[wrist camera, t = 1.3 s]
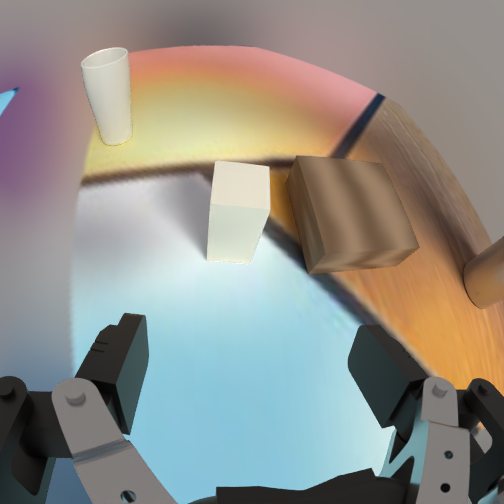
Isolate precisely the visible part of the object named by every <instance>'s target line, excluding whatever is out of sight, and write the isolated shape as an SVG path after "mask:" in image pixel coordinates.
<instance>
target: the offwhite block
mask: <svg viewBox="0 0 504 504" xmlns="http://www.w3.org/2000/svg"><path fill="white" fill-rule="evenodd" d="M269 212H270V177H269V167H268V166H261V165H253V164H244V163H235V162H226V161H215V169H214V176H213V184H212V192H211V200H210V212H209V227H208V245H207V261H215V262H227V263H239V264H250V263H251V260H252V257H253V255H254V252H255V249H256V247H257V244H258V242H259V239H260V236H261V234H262V231H263V228H264V226H265V223H266V220H267V218H268V215H269Z"/></svg>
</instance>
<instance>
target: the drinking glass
mask: <svg viewBox="0 0 504 504" xmlns="http://www.w3.org/2000/svg"><path fill="white" fill-rule="evenodd" d="M81 71H82V77H83V83H84V87H85V91H86V93H87V97H88V100H89V103H90V105H91V108H92V111H93V114H94V117H95V120H96V122H97V125H98V128H99V131H100V134H101V138H102V141H103V142H104V143H105V144H107V145H111V146H115V145H120V144H122V143H124V142H126V141H127V140H128V139H129V138H130V137H131V136H132V133H133V127H132V118H131V75H130V63H129V55H128V51H127V50H126V49H124V48H119V47H118V48H108V49H104V50H101V51H98V52H95V53H93V54H91V55H89V56H88V57H86V58H85V59H84V60H83V61H82V63H81Z"/></svg>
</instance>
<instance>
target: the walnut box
mask: <svg viewBox="0 0 504 504" xmlns="http://www.w3.org/2000/svg"><path fill="white" fill-rule="evenodd" d="M286 186H287V190H288V194H289V198H290V202H291V206H292V210H293V213H294V217H295V221H296V225H297V230H298V234H299V238H300V242H301V246H302V250H303V255H304V259H305V263H306V268H307V272H308V274H320V273H331V272H342V271H353V270H363V269H373V268H383V267H392V266H397V265H398V264H400V263H401V262H402V261H404V260H405V259H406V258H407V257H409V256H410V255H411V254H412V253H414V252H415V251H416V250H417V249H419V248H420V247H419V244H418V242H417V239H416V236H415V234H414V231H413V229H412V226H411V224H410V221H409V219H408V217H407V214H406V212H405V210H404V207H403V205H402V203H401V201H400V198H399V196H398V194H397V192H396V190H395V188H394V185H393V183H392V181H391V179H390V177H389V175H388V173H387V171H386V169H385V167H384V165H383V164H380V163H372V162H364V161H355V160H346V159H336V158H324V157H311V156H296V158H295V161H294V163H293V166H292V168H291V171H290V173H289V176H288V179H287V181H286Z"/></svg>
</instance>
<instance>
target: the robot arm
mask: <svg viewBox="0 0 504 504" xmlns="http://www.w3.org/2000/svg"><path fill="white" fill-rule="evenodd" d="M463 275H464V283H465V287H466V290H467V293H468V295H469V297H470V299H471V300H472V302H473V303H474V304H475V305H476V306H477V307H479V308H481V309H485V308H487V307H489V306H491V305H493V304H495V303H497V302H499V301H501V300H503V299H504V236H503V237H502V238H501V239H499V240H498V241H497V242H495V243H494V244H493V245H491V246H490V247H489V248H487V249H486V250H484V251H483V252H481V253H480V254H479V255H477V256H476V257H474V258H473V259H472V260H470V261H469V262H467V263H466V265H465V267H464V272H463ZM148 359H149V348H148V336H147V323H146V317H145V315H139V314H131V313H124V314H123V316H122V318H121V320H120V322H119V324H118V325H117V326H116V325H109V326H107V327H106V328H104V329H103V330H102V331H100V333H99V334H98V336H97V338H96V339H95V343H93V345H92V346H91V348H90V350H89V352H88V354H87V355H86V357H85V359H84V361H83V363H82V364H81V366H80V368H79V370H78V372H77V374H76V376H75V377H74V378H71V379H66V380H64V381H62V382H60V383H59V384H58V385H56V387H55V388H54V390H53V391H52V392H35V391H28V390H27V387H26V385H25V383H24V382H23V381H22V380H21V379H19V378H17V377H13V376H5V377H2V378H0V504H45V501H46V497H47V492H48V488H49V484H50V480H51V476H52V472H53V468H54V464H55V461H56V458H72V462H73V465H74V467H75V469H76V471H77V474H78V476H79V478H80V480H81V482H82V484H83V486H84V488H85V490H86V492H87V493H88V495H89V497H90V499H91V501H92V503H93V504H178V503H177V502H176V501H175V500H174V499H173V498H172V496H171V495H170V494H169V493H168V492H167V490H166V489H165V488H164V487H163V485H162V484H161V483H160V482H159V480H158V479H157V478H156V476H155V475H154V474H153V472H152V471H151V470H150V468H149V467H148V466H147V464H146V463H145V461H144V460H143V459H142V457H141V456H140V454H139V453H138V451H137V450H136V448H135V447H134V446H133V444H132V443H131V442H130V441H129V440H128V441H127V440H126V439H125V438H124V436H123V434H127V435H130V433H131V428H132V424H133V420H134V416H135V412H136V408H137V404H138V400H139V396H140V392H141V388H142V385H143V381H144V377H145V374H146V370H147V366H148ZM348 369H349V371H350V373H351V375H352V377H353V378H354V380H355V382H356V384H357V385H358V387H359V389H360V391H361V392H362V394H363V396H364V398H365V399H366V401H367V403H368V405H369V406H370V408H371V410H372V412H373V413H374V415H375V417H376V419H377V421H378V422H379V424H380V426H381V428H386V427H390V426H395V428H396V429H395V430H394V431H393V433H392V436H391V440H390V444H389V447H388V451H387V455H386V458H385V462H384V465H383V468H382V471H381V473H380V475H379V476H375V475H374V472H373V470H372V468H369V469H365V470H361V471H357V472H353V473H349V474H344V475H340V476H337V477H335V478H333V479H330V480H328V481H326V482H323V483H321V484H319V485H316V486H314V487H311V488H309V489H306V490H287V489H277V488H269V487H261V486H251V487H216V496H212V497H207V498H203V499H199V500H196V501H194V502H191V503H188V504H467V500H468V496H469V498H470V500H471V502H472V504H504V397H503V396H502V395H501V393H500V392H499V391H498V390H497V389H496V388H495V387H494V385H493V384H491V383H490V382H489V381H487V380H484V379H481V378H476V379H473V380H472V381H471V383H470V385H469V386H468V388H467V390H456V389H455V387H454V386H453V385H452V384H451V383H450V382H449V381H447V380H445V379H443V378H440V377H430V378H429V376H428V375H427V374H426V373H425V372H424V371H423V369H422V368H421V367H420V366H419V365H418V363H417V362H416V361H415V360H414V359H413V358H411V355H410V354H409V353H408V352H407V351H406V350H405V348H404V347H403V346H402V345H401V344H400V343H399V342H398V341H396V340H395V339H393V338H392V337H390V336H389V335H388V334H387V332H386V331H385V330H384V329H383V328H382V327H381V326H380V325H378V324H374V325H361V326H360V327H359V328H358V331H357V333H356V336H355V339H354V342H353V345H352V348H351V351H350V354H349V356H348ZM480 421H481V423H482V424H483V425H484V427H485V428H486V430H487V431H488V432H489V434H490V435H491V437H492V446H491V448H490V449H489V450H488V451H487V452H486V454H484V452H483V451H482V449H481V447H480V446H479V444H478V443H477V441H476V440H475V438H474V437H473V435H472V434H471V432H472V431H473V430H474V428H475V427H476V426H477V425H478V423H479V422H480Z"/></svg>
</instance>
